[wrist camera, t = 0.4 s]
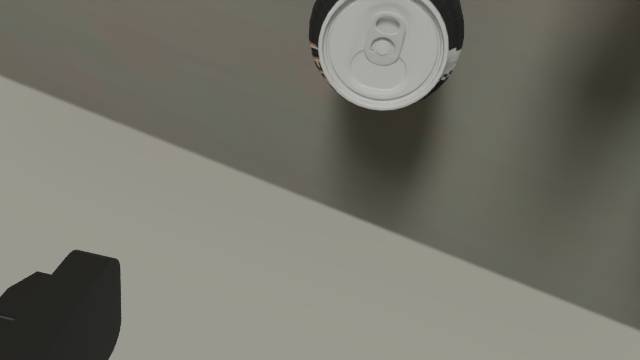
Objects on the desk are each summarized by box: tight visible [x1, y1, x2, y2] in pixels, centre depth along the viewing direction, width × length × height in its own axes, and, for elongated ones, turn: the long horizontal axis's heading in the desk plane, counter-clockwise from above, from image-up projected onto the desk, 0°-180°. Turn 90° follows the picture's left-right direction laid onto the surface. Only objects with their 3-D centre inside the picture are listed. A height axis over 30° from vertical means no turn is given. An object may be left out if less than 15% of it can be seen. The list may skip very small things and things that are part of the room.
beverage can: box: [309, 0, 464, 111], centre depth 26 cm, size 6×6×12 cm
